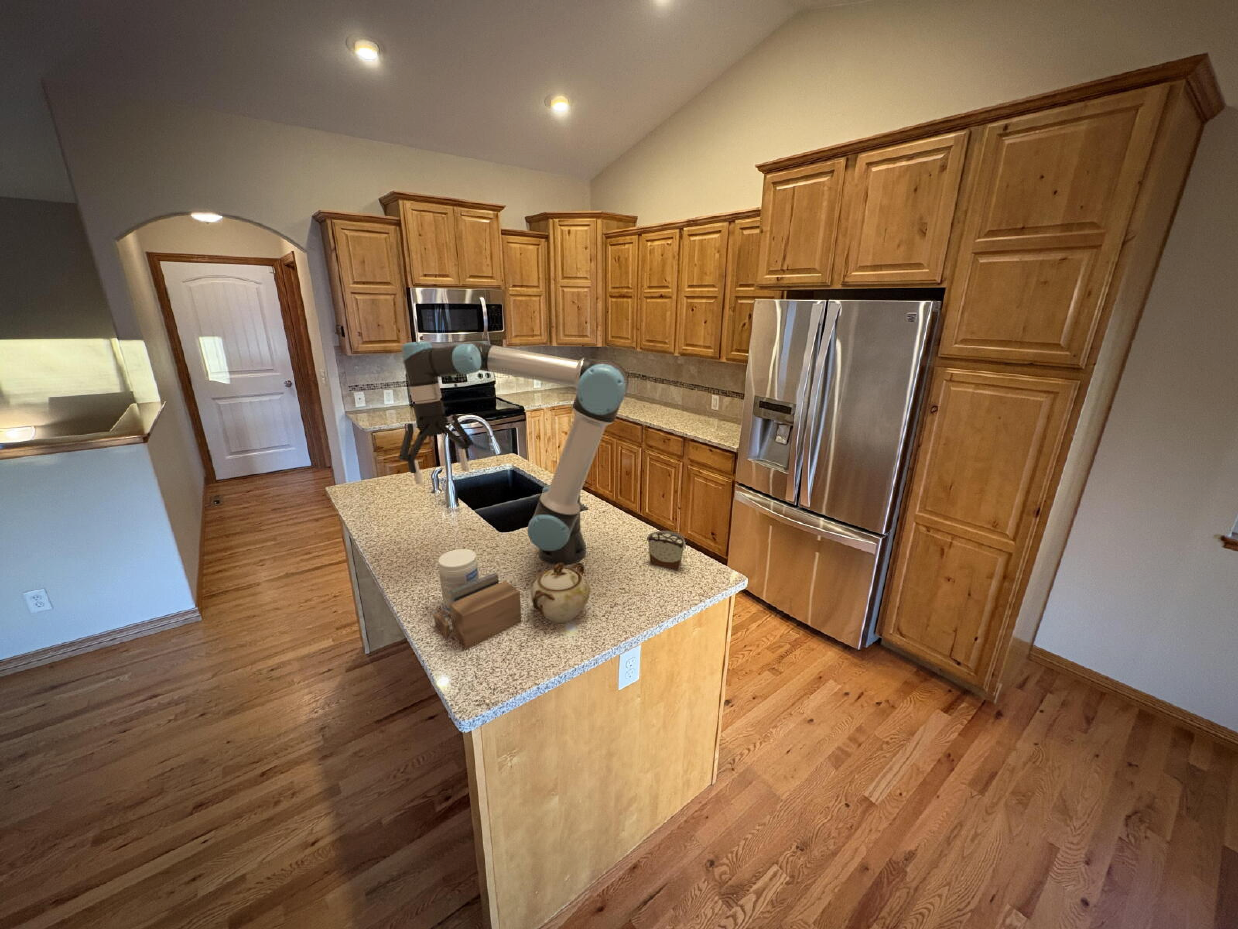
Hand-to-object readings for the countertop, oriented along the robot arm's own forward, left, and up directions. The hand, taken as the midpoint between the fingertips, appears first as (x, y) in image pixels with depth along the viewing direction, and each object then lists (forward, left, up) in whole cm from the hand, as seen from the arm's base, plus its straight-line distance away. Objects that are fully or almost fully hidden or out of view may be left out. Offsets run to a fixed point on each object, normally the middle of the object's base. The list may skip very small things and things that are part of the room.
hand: (443, 477), depth 134 cm
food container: (-65, +3, -30) cm, 72 cm away
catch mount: (-11, +26, -30) cm, 41 cm away
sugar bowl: (-31, +24, -30) cm, 50 cm away
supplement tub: (-5, +18, -30) cm, 36 cm away
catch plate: (-10, +24, -29) cm, 39 cm away
